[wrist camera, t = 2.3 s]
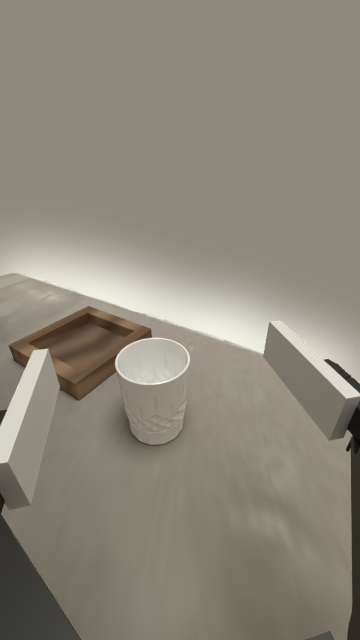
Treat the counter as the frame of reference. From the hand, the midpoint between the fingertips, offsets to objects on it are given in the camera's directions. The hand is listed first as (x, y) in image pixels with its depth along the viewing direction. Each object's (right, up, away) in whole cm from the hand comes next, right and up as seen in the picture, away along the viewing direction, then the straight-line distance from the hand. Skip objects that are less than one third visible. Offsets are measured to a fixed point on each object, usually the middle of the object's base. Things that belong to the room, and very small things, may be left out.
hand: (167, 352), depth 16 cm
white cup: (-2, -11, +17) cm, 21 cm away
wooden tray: (-15, -3, +30) cm, 34 cm away
